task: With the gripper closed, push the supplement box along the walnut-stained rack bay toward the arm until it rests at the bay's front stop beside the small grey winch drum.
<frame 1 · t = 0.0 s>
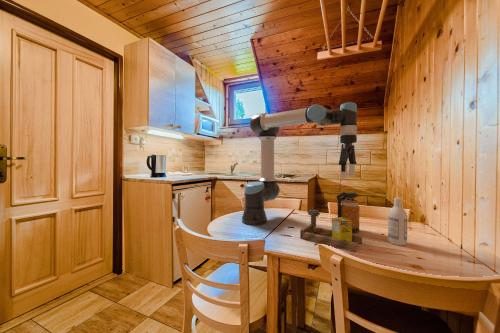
hand: (347, 177, 107), 28 cm above the table, fingers open, 13 cm apart
bath foam: (397, 243, 95), on the table
supplement box: (341, 243, 95), resting in bay
canister: (347, 230, 113), on the table
bay: (330, 240, 98), on the table
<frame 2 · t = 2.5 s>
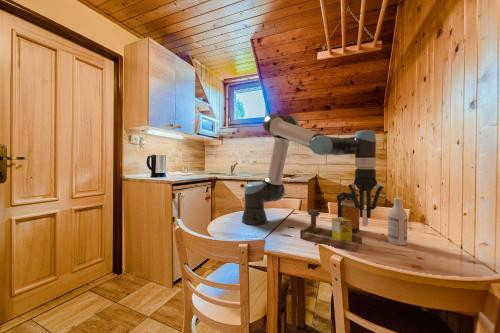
hand: (365, 225, 89), 10 cm above the table, fingers closed
nothing on the table moved.
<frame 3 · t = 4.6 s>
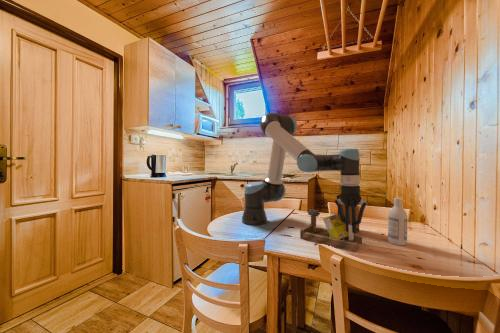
hand: (351, 239, 93), 3 cm above the table, fingers closed
supplement box: (341, 240, 95), point 1 cm above the table, touching gripper, hand
everything else where it was.
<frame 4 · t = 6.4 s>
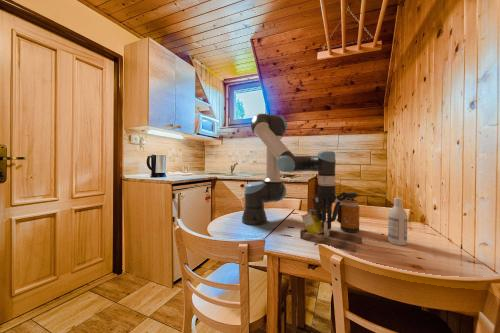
hand: (326, 235, 100), 2 cm above the table, fingers closed
supplement box: (317, 236, 101), point 1 cm above the table, touching bay, gripper
everything else where it was.
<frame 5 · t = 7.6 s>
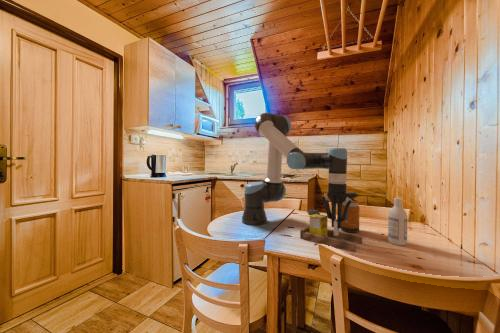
hand: (336, 234, 97), 3 cm above the table, fingers closed
supplement box: (318, 239, 101), resting in bay
everything else where it was.
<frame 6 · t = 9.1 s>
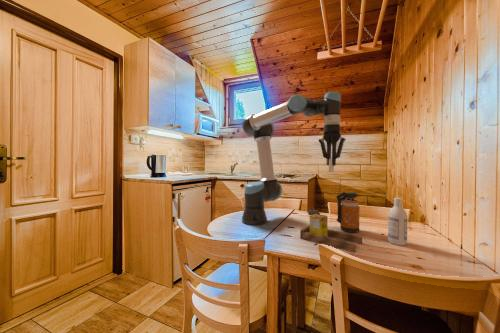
hand: (331, 172, 107), 31 cm above the table, fingers closed
nothing on the table moved.
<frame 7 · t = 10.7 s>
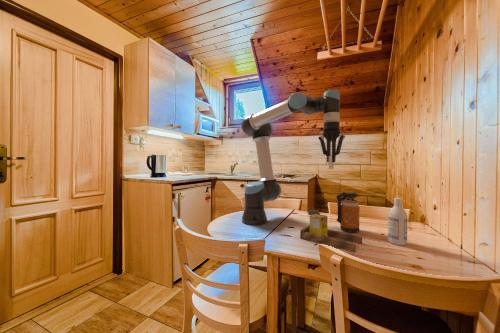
hand: (331, 168, 109), 32 cm above the table, fingers closed
nothing on the table moved.
at the end: supplement box inside the target area (2.1 cm from its centre), resting in bay; supplement box tilted 0°; supplement box moved 10.2 cm from its start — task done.
